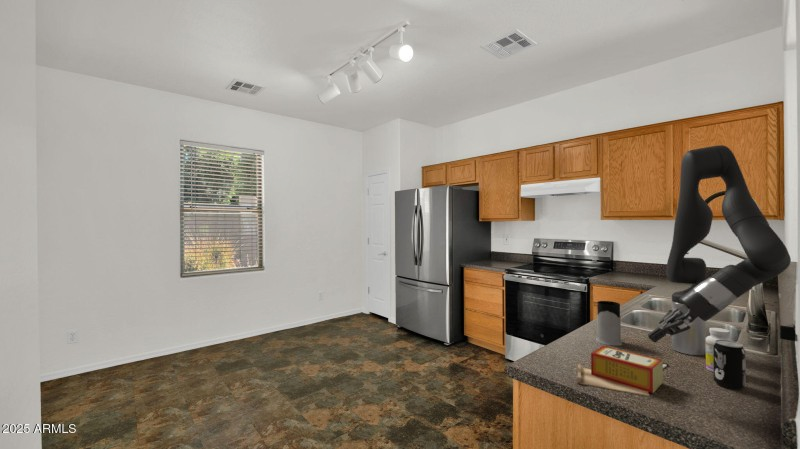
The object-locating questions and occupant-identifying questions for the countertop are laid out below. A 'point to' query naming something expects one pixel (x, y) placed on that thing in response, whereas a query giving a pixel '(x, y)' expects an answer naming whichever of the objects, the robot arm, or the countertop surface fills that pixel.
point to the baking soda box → (627, 368)
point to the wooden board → (604, 382)
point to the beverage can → (729, 364)
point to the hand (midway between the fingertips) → (650, 339)
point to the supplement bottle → (710, 341)
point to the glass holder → (608, 323)
